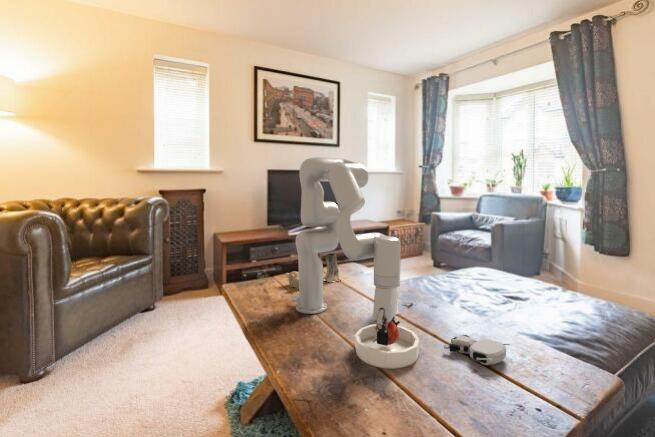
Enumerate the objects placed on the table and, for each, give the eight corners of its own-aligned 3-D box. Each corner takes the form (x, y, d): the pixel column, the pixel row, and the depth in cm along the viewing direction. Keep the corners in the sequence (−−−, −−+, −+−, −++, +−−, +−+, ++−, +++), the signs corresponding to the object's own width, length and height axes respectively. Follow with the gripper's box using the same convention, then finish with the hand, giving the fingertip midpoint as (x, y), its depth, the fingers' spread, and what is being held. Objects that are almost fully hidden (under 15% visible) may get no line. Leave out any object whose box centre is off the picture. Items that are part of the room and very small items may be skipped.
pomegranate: (379, 357, 93) (408, 337, 91) (363, 335, 94) (392, 315, 92) (380, 347, 100) (407, 328, 99) (365, 326, 101) (392, 308, 100)
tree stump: (326, 283, 164) (326, 257, 162) (319, 278, 173) (319, 253, 172) (344, 281, 167) (344, 255, 166) (337, 276, 176) (337, 252, 175)
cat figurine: (294, 279, 151) (285, 266, 161) (289, 292, 153) (280, 279, 163) (309, 281, 156) (299, 268, 166) (304, 294, 157) (294, 281, 167)
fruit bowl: (347, 360, 92) (346, 344, 92) (366, 333, 109) (366, 320, 108) (412, 374, 85) (412, 358, 84) (422, 343, 101) (422, 329, 101)
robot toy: (440, 356, 96) (494, 374, 84) (440, 341, 95) (493, 357, 84) (461, 343, 104) (512, 358, 92) (460, 329, 103) (512, 342, 92)
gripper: (381, 270, 104) (381, 324, 106) (365, 286, 88) (364, 349, 90) (405, 273, 101) (404, 328, 103) (392, 290, 85) (391, 355, 87)
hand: (386, 337), depth 96 cm, fingers closed on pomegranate, 7 cm apart
